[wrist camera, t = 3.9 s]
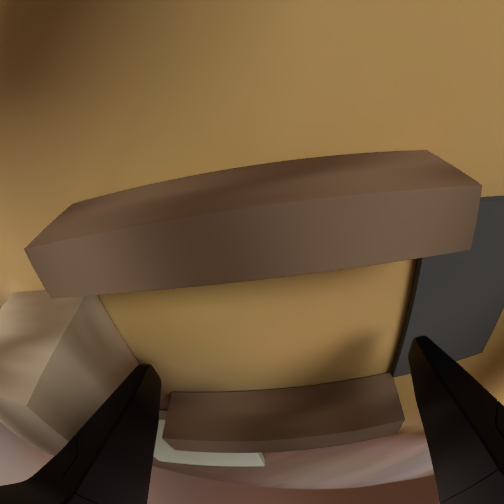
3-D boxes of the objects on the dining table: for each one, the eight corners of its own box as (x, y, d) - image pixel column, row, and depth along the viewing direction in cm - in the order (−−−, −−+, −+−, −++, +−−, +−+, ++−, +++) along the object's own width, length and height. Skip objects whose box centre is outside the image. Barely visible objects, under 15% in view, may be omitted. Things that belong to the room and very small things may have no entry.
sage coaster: (243, 411, 13) (242, 421, 13) (264, 458, 18) (264, 465, 17) (107, 404, 14) (104, 413, 14) (160, 454, 19) (159, 460, 18)
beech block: (92, 285, 9) (26, 405, 5) (146, 373, 12) (118, 475, 8) (12, 293, 10) (-45, 377, 6) (66, 367, 13) (32, 447, 8)
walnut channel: (426, 150, 7) (482, 185, 5) (385, 389, 12) (397, 433, 10) (72, 204, 8) (24, 249, 6) (182, 407, 14) (174, 450, 11)
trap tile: (532, 194, 7) (537, 197, 7) (479, 348, 11) (481, 352, 11) (424, 201, 7) (429, 206, 7) (391, 371, 12) (393, 377, 11)
